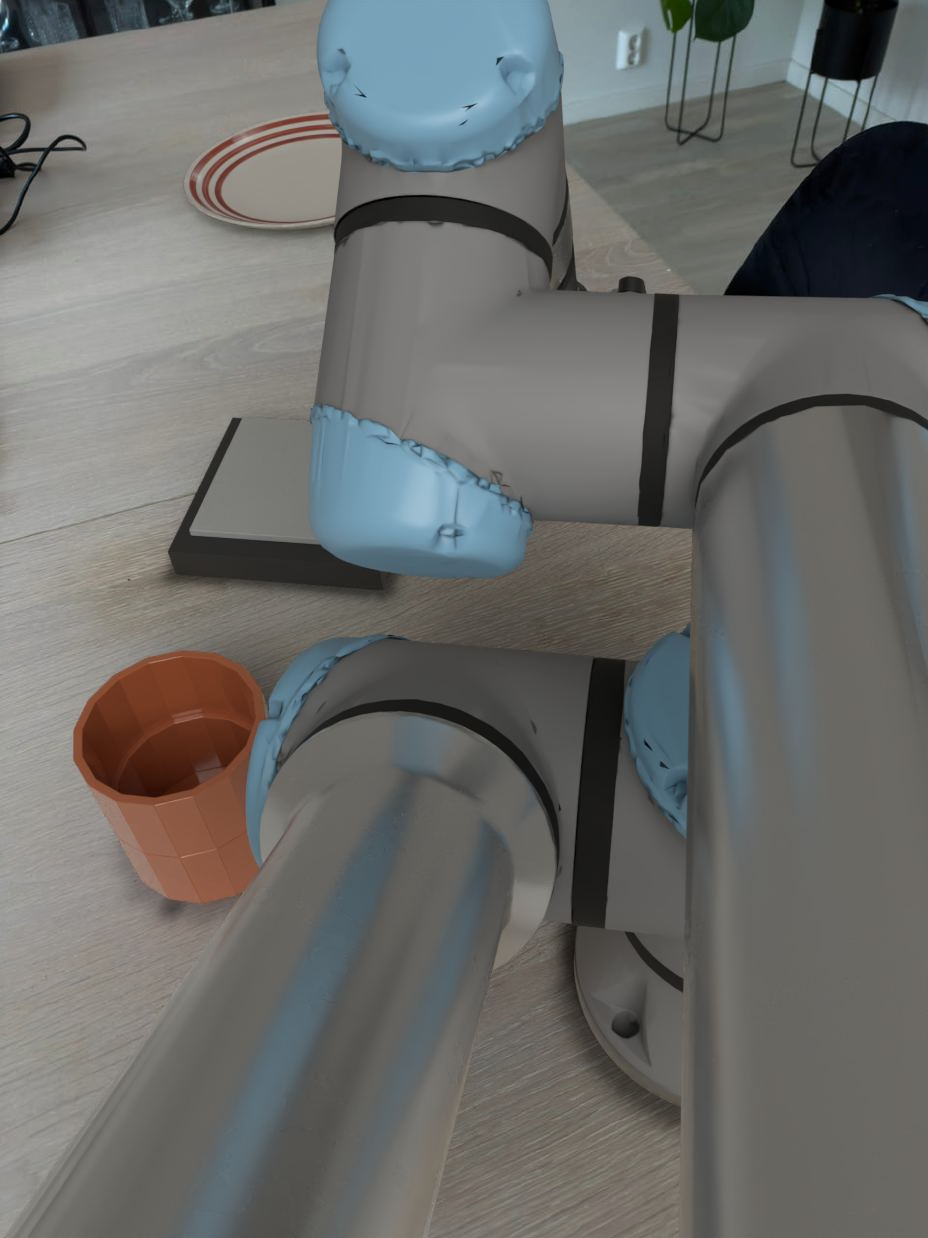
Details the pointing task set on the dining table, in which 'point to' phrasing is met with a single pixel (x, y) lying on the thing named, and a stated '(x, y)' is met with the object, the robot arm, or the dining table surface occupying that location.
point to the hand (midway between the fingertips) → (526, 404)
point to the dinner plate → (271, 174)
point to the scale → (261, 513)
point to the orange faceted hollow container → (176, 769)
